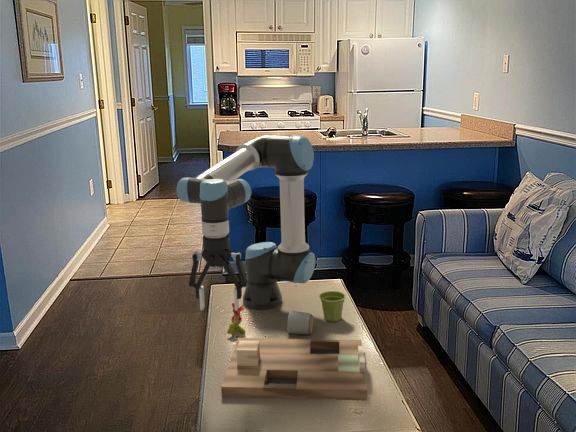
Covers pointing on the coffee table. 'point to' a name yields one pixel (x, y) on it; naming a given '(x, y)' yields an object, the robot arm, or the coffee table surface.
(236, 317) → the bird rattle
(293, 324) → the ceramic mug
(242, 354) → the maple block
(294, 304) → the coffee table surface
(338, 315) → the plant pot
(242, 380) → the board
